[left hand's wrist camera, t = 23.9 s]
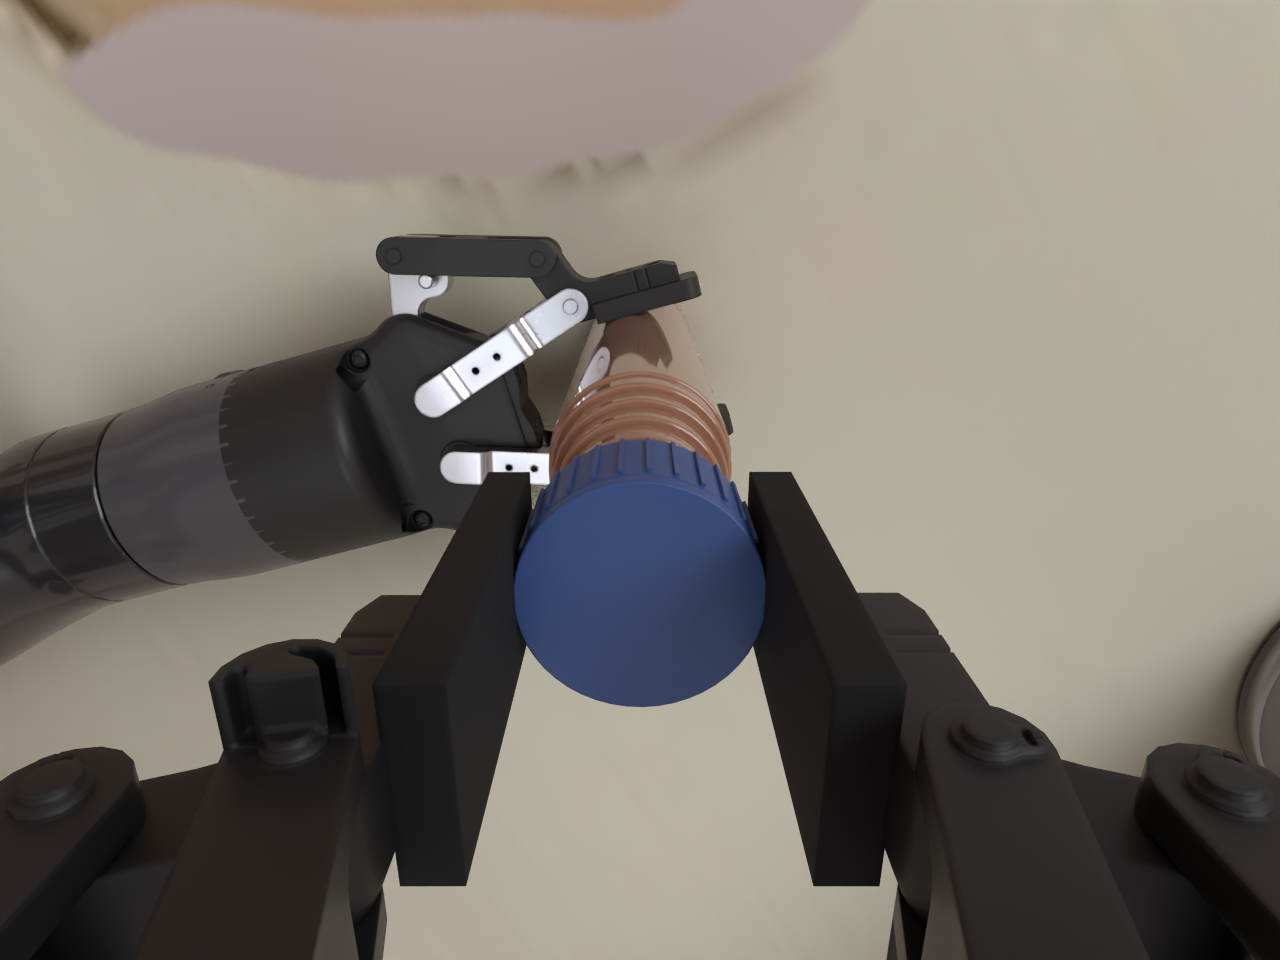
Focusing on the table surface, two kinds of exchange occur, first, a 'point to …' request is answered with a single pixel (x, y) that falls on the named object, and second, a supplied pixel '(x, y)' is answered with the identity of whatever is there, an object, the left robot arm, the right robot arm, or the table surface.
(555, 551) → the cap
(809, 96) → the table surface
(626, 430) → the bottle
